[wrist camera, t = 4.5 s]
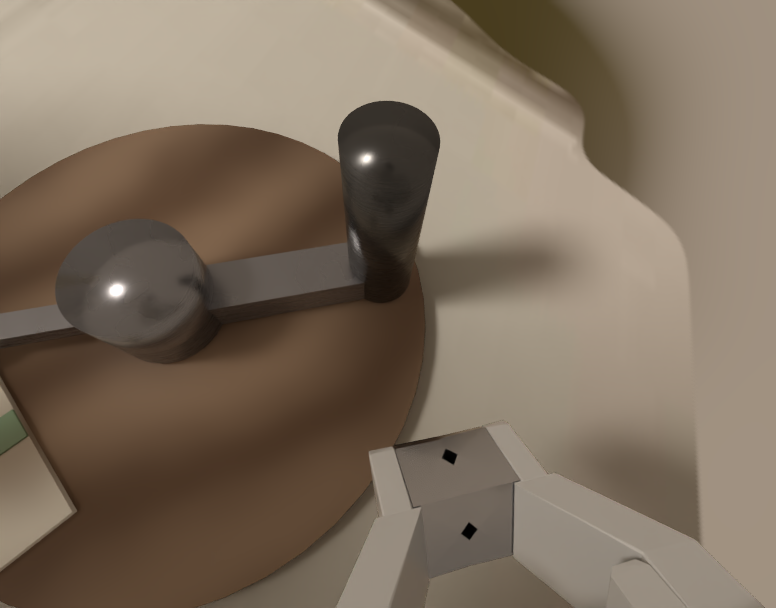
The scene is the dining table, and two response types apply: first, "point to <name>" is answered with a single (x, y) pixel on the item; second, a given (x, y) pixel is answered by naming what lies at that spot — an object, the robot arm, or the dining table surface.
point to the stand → (188, 384)
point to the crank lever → (252, 275)
